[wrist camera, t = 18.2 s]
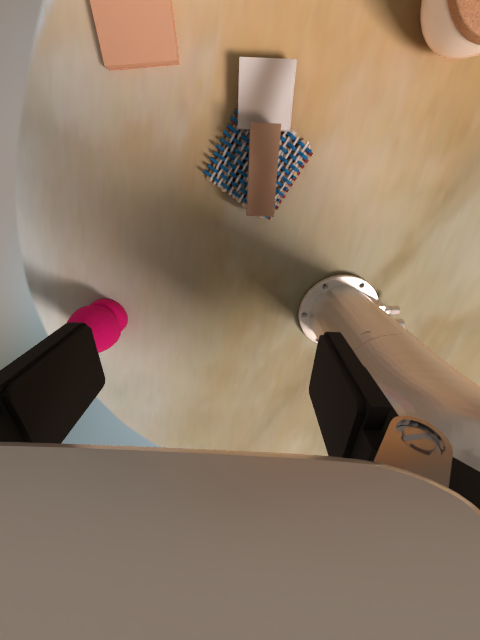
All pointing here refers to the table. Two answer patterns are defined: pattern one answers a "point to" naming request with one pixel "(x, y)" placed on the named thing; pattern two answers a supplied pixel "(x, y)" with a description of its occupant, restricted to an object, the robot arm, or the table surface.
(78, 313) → the pepper mill
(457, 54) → the lidded jar
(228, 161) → the woven mat
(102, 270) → the table surface
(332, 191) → the table surface
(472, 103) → the table surface
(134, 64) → the tile
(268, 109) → the turner
